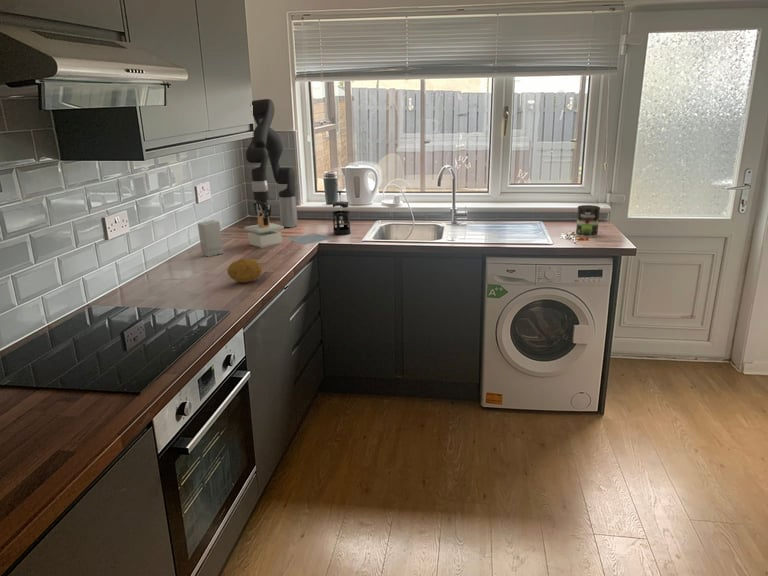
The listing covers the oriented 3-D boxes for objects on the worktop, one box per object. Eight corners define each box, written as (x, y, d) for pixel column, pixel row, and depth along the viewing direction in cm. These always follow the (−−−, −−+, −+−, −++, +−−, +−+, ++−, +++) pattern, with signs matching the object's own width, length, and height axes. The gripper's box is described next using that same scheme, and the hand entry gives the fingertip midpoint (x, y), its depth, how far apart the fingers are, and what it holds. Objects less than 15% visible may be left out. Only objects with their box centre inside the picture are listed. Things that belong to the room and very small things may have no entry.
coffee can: (597, 237, 278) (599, 209, 274) (574, 236, 282) (576, 208, 278) (598, 233, 287) (600, 205, 283) (576, 232, 291) (578, 204, 287)
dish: (249, 244, 289) (248, 233, 287) (270, 240, 296) (269, 229, 295) (261, 248, 280) (260, 236, 279) (282, 244, 288) (281, 232, 286)
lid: (244, 229, 287) (243, 216, 285) (269, 224, 295) (268, 212, 294) (258, 233, 277) (257, 220, 275) (283, 228, 285) (282, 216, 283)
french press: (346, 237, 298) (343, 192, 291) (329, 236, 302) (327, 192, 295) (354, 232, 309) (352, 189, 302) (338, 231, 312) (336, 189, 305)
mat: (285, 240, 297) (285, 239, 296) (314, 234, 308) (314, 233, 308) (304, 245, 284) (304, 244, 283) (334, 239, 295) (334, 238, 295)
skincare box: (217, 251, 277) (213, 219, 272) (224, 253, 272) (220, 221, 268) (201, 255, 271) (196, 222, 267) (208, 257, 267) (203, 224, 262)
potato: (226, 281, 228) (223, 258, 225) (259, 276, 233) (257, 254, 231) (231, 287, 220) (228, 264, 217) (265, 282, 225) (263, 259, 222)
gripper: (246, 189, 283) (250, 223, 288) (261, 192, 273) (264, 227, 278) (260, 187, 288) (263, 221, 293) (274, 190, 277) (277, 225, 283)
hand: (263, 224), depth 285 cm, fingers closed on lid, 4 cm apart
